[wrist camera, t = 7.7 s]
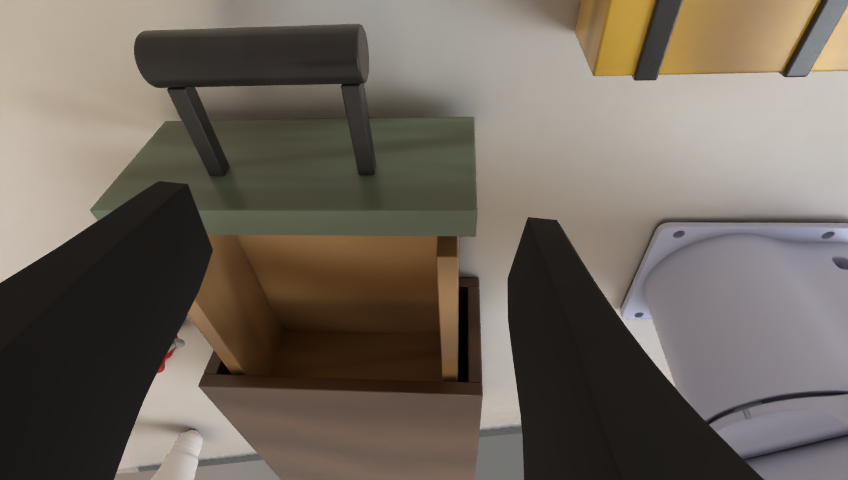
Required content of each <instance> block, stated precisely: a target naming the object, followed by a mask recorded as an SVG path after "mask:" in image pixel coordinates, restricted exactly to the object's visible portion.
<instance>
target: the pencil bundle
mask: <svg viewBox="0 0 848 480" xmlns="http://www.w3.org/2000/svg"><path fill="white" fill-rule="evenodd" d="M575 34H576V37H577V39H578V41H579V44H580V46H581V48H582V51H583V53H584V55H585V58H586V60H587V63H588V65H589V67H590V70H591V72H592V74H593V76H625V75H632V77H633V79H634V80H656V79H657V77H658V75H671V74H717V73H763V72H779V73H780V74H781V75H782V76H784V77H805V76H807V75H808V74H809V72H810V71H848V0H581V3H580V8H579V14H578V19H577V25H576V30H575Z"/></svg>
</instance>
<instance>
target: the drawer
mask: <svg viewBox="0 0 848 480" xmlns="http://www.w3.org/2000/svg"><path fill="white" fill-rule="evenodd" d="M134 55H135V60H136V64H137V66H138V69H139V71H140V73H141V75H142V76H143V78H144V79H145V80H146V81H147V82H148V83H149V84H151V85H152V86H154V87H157V88H168V89H167V91H168V93H169V95H170V97H171V99H172V101H173V103H174V105H175V107H176V109H177V111H178V113H179V115H180V117H181V119H182V121H166V122H164V124H163V125H162V126H161V127H160V128H159V130H158V131H157V132H156V133H155V134H154V135H153V137H152V138H151V139H150V140H149V141H148V142H147V144H146V145H145V146H144V147H143V148H142V149H141V151H140V152H139V153H138V154H137V155H136V157H135V158H134V159H133V160H132V161H131V162H130V164H129V165H128V166H127V167H126V168H125V169H124V171H123V172H122V173H121V174H120V175H119V176H118V178H117V179H116V180H115V181H114V182H113V184H112V185H111V186H110V187H109V188H108V189H107V191H106V192H105V193H104V194H103V195H102V196H101V198H100V199H99V200H98V201H97V202H96V203H95V205H94V206H93V207H92V208H91V209H90V211H91V212H92V213H93V215H94V216H95V217H96V219H97V220H98V221H99V220H100V219H102V218H103V217H105V216H106V215H108V214H109V213H110V212H112V211H113V210H115V209H116V208H118V207H119V206H121V205H122V204H124V203H125V202H127V201H128V200H130V199H131V198H133V197H134V196H136V195H137V194H139V193H140V192H142V191H143V190H145V189H147V188H148V187H150V186H151V185H153V184H155V183H156V182H158V181H164V182H174V183H184V184H188V186H189V188H190V191H191V193H192V196H193V199H194V201H195V204H196V206H197V209H198V212H199V214H200V217H201V219H202V222H203V225H204V227H205V230H206V232H207V235H208V238H209V240H210V243H211V245H212V248H213V252H212V255H211V258H210V261H209V264H208V267H207V271H206V273H205V276H204V279H203V282H202V284H201V287H200V290H199V292H198V294H197V296H196V298H195V300H194V302H193V304H192V306H191V308H190V310H189V312H188V315H189V317H190V318H191V319H192V321H193V322H194V323H195V325H196V326H197V328H198V329H199V330H200V332H201V333H202V334H203V336H204V337H205V338H206V340H207V341H208V342H209V344H210V345H211V346H212V348H213V349H214V351H215V352H216V353H217V355H218V356H219V357H220V359H221V360H222V361H223V363H224V364H225V365H226V367H227V368H228V370H229V371H230V372H231V374H232V375H251V376H282V377H314V378H345V379H377V380H408V381H439V382H458V344H459V236H476V222H477V195H476V162H475V129H474V117H424V118H369V115H368V108H367V102H366V96H365V89H364V83H365V82H366V81H367V78H368V73H369V51H368V43H367V37H366V33H365V30H364V28H363V26H362V25H360V24H341V25H310V26H278V27H247V28H216V29H185V30H154V31H143V32H141V33H140V34H139V35H138V36H137V38H136V40H135V45H134ZM313 84H342V85H341V89H342V94H343V99H344V104H345V109H346V114H347V119H291V120H225V121H210V120H209V118H208V116H207V114H206V111H205V109H204V107H203V105H202V102H201V100H200V98H199V96H198V93H197V91H196V89H195V87H220V86H266V85H313Z"/></svg>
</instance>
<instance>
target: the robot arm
mask: <svg viewBox="0 0 848 480" xmlns="http://www.w3.org/2000/svg"><path fill="white" fill-rule="evenodd" d="M677 231H679V232H677ZM212 252H213V248H212V245H211V243H210V240H209V238H208V235H207V232H206V230H205V227H204V225H203V222H202V219H201V217H200V214H199V212H198V209H197V206H196V204H195V201H194V199H193V196H192V193H191V191H190V188H189V186H188V184H184V183H174V182H164V181H158V182H156V183H155V184H153V185H151V186H150V187H148V188H147V189H145V190H143V191H142V192H140V193H139V194H137V195H136V196H134V197H133V198H131V199H130V200H128V201H127V202H125V203H124V204H122V205H121V206H119V207H118V208H116V209H115V210H113V211H112V212H110V213H109V214H108V215H106V216H105V217H103V218H102V219H100V220H99V221H97V222H96V223H94V224H93V225H91V226H90V227H88V228H87V229H85V230H84V231H82V232H81V233H79V234H78V235H76V236H75V237H73V238H72V239H70V240H69V241H67V242H66V243H64V244H63V245H61V246H60V247H58V248H56V249H55V250H53V251H52V252H50V253H48V254H47V255H45V256H44V257H42V258H40V259H39V260H37V261H35V262H34V263H32V264H31V265H29V266H27V267H26V268H24V269H22V270H21V271H19V272H18V273H16V274H14V275H13V276H11V277H9V278H8V279H6V280H5V281H3V282H1V283H0V480H114V478H115V475H116V472H117V469H118V466H119V464H120V461H121V458H122V455H123V453H124V450H125V447H126V444H127V442H128V439H129V437H130V434H131V431H132V429H133V426H134V424H135V421H136V419H137V416H138V414H139V411H140V408H141V406H142V403H143V401H144V399H145V397H146V394H147V392H148V390H149V388H150V386H151V384H152V382H153V380H154V378H155V376H156V374H157V372H158V370H159V368H160V366H161V364H162V362H163V360H164V358H165V356H166V355H167V353H168V351H169V349H170V347H171V345H172V343H173V341H174V339H175V337H176V335H177V333H178V332H179V330H180V328H181V326H182V324H183V322H184V320H185V318H186V316H187V314H188V312H189V310H190V308H191V306H192V304H193V302H194V300H195V298H196V296H197V294H198V292H199V290H200V287H201V284H202V282H203V279H204V276H205V273H206V271H207V267H208V264H209V261H210V258H211V255H212ZM620 312H621V315H622V317H623V318H625V319H652V320H653V323H654V326H655V328H656V331H657V334H658V337H659V340H660V343H661V346H662V349H663V352H664V355H665V358H666V360H667V363H668V366H669V369H670V372H671V375H672V378H673V381H674V384H675V387H676V388H675V387H674V386H673V385H672V384H671V383H670V381H669V380H668V379H667V378H666V377H665V376H664V374H663V373H662V372H661V371H660V370H659V368H658V367H657V366H656V365H655V364H654V362H653V361H652V360H651V359H650V357H649V356H648V355H647V354H646V352H645V351H644V350H643V348H642V347H641V346H640V345H639V343H638V342H637V341H636V339H635V338H634V337H633V335H632V334H631V333H630V331H629V330H628V329H627V327H626V326H625V325H624V323H623V322H622V320H621V319H620V318H619V316H618V315H617V313H616V312H615V311H614V309H613V308H612V306H611V305H610V303H609V302H608V300H607V299H606V297H605V296H604V294H603V293H602V291H601V290H600V288H599V287H598V285H597V284H596V282H595V281H594V279H593V278H592V276H591V275H590V273H589V272H588V270H587V268H586V267H585V265H584V264H583V262H582V260H581V259H580V257H579V255H578V254H577V252H576V251H575V249H574V247H573V246H572V244H571V242H570V241H569V239H568V237H567V236H566V234H565V232H564V231H563V229H562V227H561V226H560V224H559V223H558V221H557V220H550V219H539V218H529V217H528V219H527V222H526V225H525V228H524V231H523V234H522V237H521V240H520V243H519V246H518V249H517V252H516V255H515V258H514V261H513V264H512V267H511V270H510V273H509V276H508V323H509V331H510V339H511V346H512V354H513V362H514V369H515V376H516V384H517V391H518V399H519V406H520V413H521V424H522V434H523V457H524V480H848V223H707V222H668V223H664V224H661V225H660V226H658V228H657V229H656V231H655V233H654V235H653V238H652V240H651V242H650V244H649V247H648V249H647V251H646V253H645V256H644V258H643V260H642V263H641V265H640V267H639V269H638V272H637V274H636V276H635V278H634V281H633V283H632V285H631V288H630V290H629V292H628V294H627V297H626V299H625V301H624V303H623V306H622V308H621V311H620Z"/></svg>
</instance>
